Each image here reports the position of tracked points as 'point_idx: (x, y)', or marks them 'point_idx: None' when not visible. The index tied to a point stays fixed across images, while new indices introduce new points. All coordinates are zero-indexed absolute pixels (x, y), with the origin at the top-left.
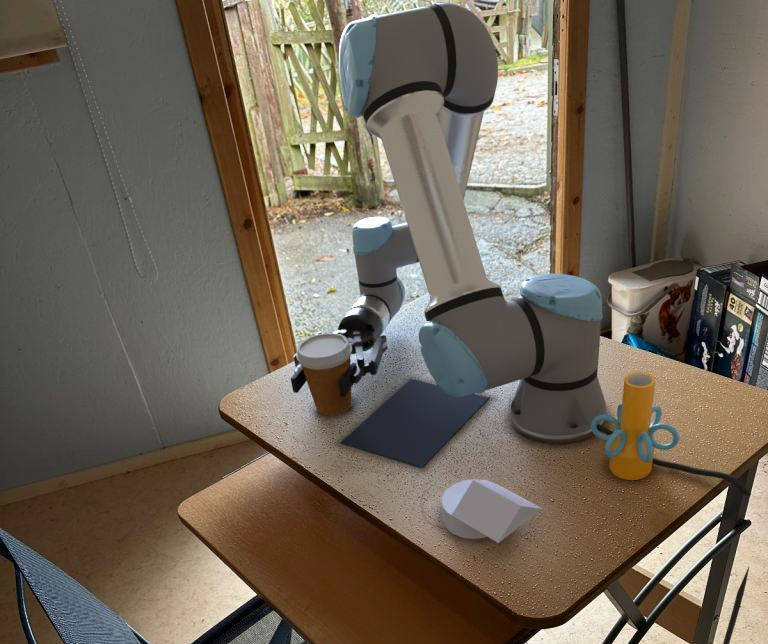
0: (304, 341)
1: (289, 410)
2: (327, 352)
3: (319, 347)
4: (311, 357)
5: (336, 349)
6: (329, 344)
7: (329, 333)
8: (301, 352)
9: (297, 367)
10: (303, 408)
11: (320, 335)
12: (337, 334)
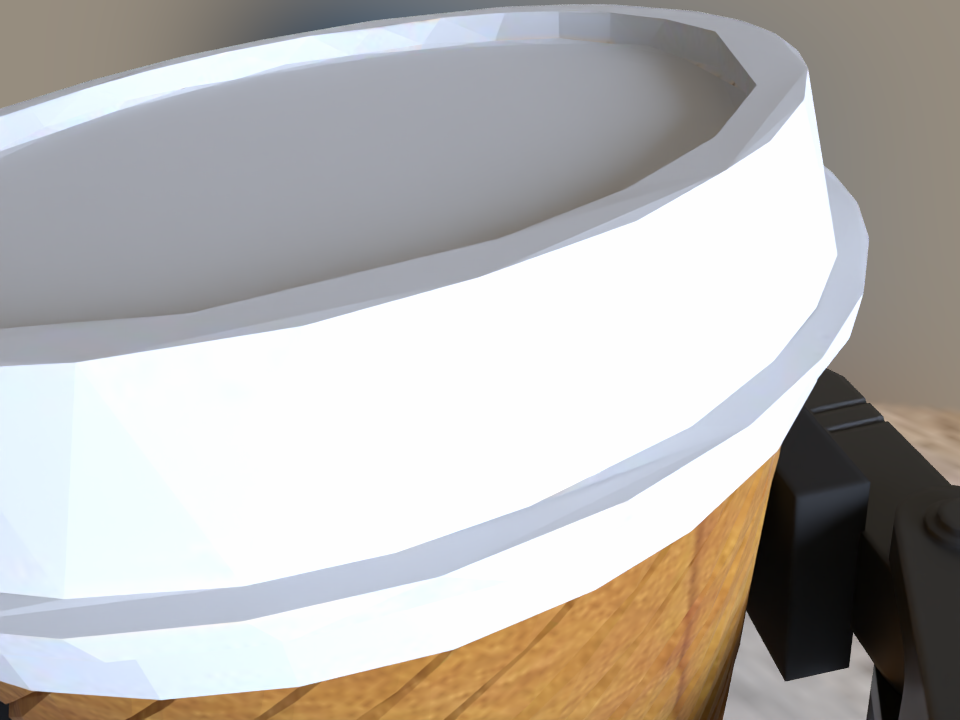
0: (736, 50)
1: (857, 641)
2: (169, 129)
3: (364, 131)
4: (329, 29)
5: (24, 179)
6: (202, 198)
7: (336, 290)
8: (528, 11)
9: (859, 415)
10: (762, 712)
11: (597, 215)
12: (23, 339)
